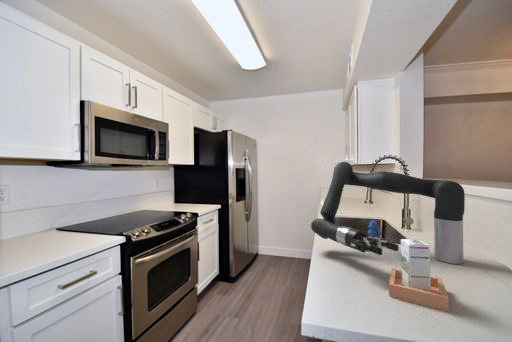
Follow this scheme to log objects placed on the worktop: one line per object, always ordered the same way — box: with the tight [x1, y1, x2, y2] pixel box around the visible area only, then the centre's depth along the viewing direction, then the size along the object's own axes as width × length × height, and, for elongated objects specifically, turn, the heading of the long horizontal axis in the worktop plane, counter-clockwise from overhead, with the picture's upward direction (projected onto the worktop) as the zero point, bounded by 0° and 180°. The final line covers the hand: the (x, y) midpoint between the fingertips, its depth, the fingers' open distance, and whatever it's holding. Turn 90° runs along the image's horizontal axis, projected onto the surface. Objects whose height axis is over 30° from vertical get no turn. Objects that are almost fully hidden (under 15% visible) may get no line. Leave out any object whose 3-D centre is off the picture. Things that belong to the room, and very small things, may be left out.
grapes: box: [367, 220, 383, 238], centre depth 116 cm, size 12×7×12 cm, turn 138°
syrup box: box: [400, 238, 431, 292], centre depth 68 cm, size 6×6×14 cm
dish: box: [388, 268, 450, 313], centre depth 68 cm, size 13×13×4 cm
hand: (390, 250), depth 75 cm, fingers open, 8 cm apart
